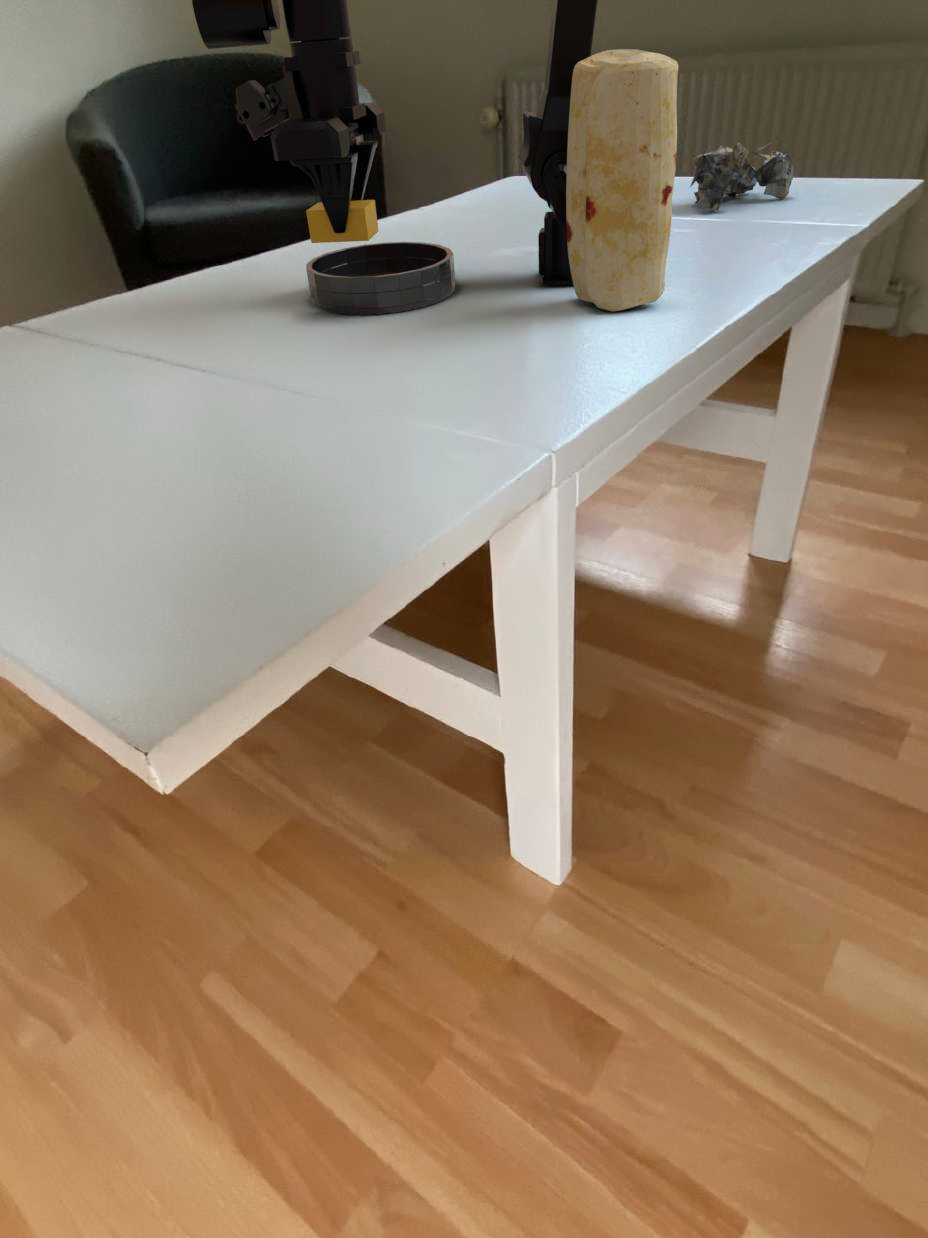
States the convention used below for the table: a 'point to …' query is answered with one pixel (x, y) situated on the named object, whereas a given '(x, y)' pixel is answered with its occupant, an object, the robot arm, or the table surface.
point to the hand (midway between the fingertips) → (346, 227)
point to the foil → (739, 175)
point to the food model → (621, 176)
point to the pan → (381, 278)
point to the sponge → (358, 225)
